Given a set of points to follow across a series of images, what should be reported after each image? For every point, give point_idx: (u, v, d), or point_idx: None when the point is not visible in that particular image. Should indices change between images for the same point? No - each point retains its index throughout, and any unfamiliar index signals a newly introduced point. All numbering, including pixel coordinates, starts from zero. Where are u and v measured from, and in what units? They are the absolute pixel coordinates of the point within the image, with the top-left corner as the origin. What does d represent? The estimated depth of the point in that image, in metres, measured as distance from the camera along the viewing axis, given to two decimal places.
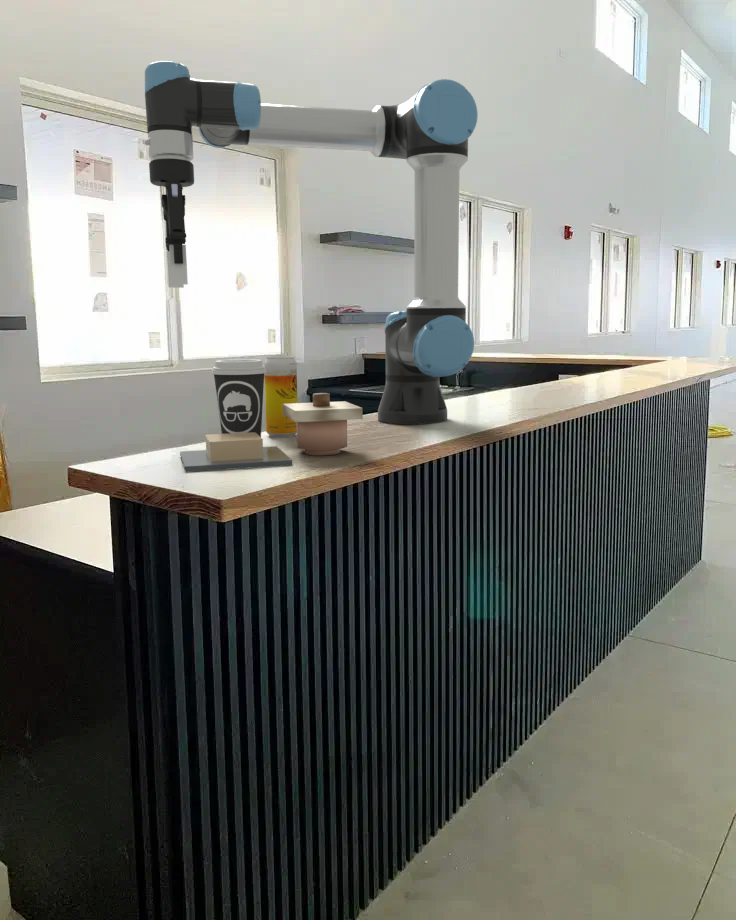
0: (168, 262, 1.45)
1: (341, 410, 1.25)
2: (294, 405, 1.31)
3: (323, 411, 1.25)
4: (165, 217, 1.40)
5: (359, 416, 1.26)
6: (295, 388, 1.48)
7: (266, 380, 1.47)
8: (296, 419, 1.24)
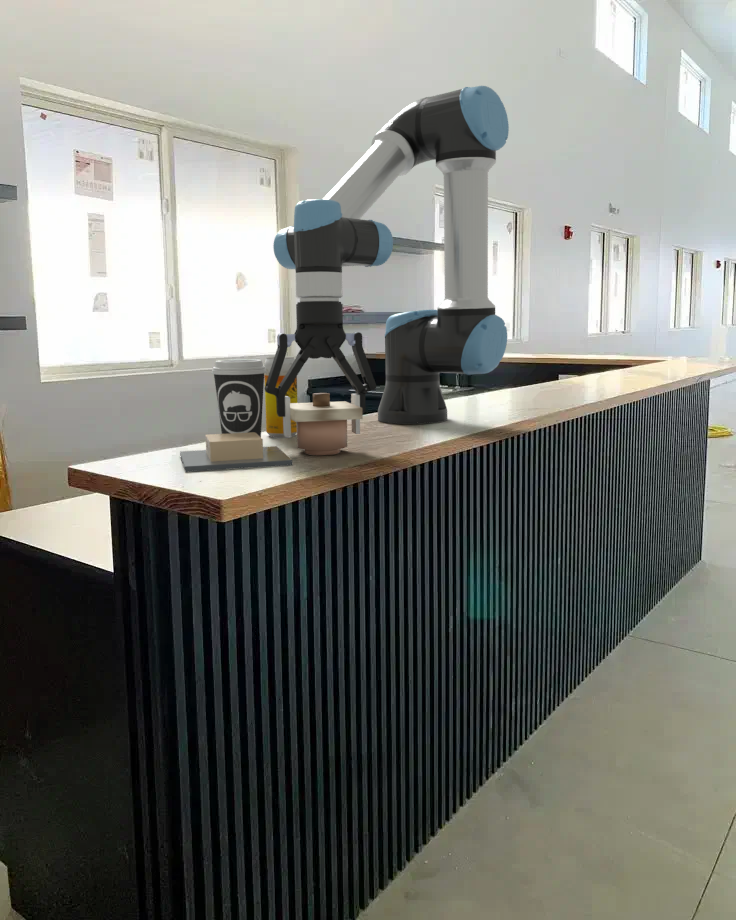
0: None
1: (341, 410, 1.25)
2: (294, 405, 1.31)
3: (323, 411, 1.25)
4: (333, 357, 1.31)
5: (359, 416, 1.26)
6: (295, 388, 1.48)
7: (266, 380, 1.47)
8: (296, 419, 1.24)
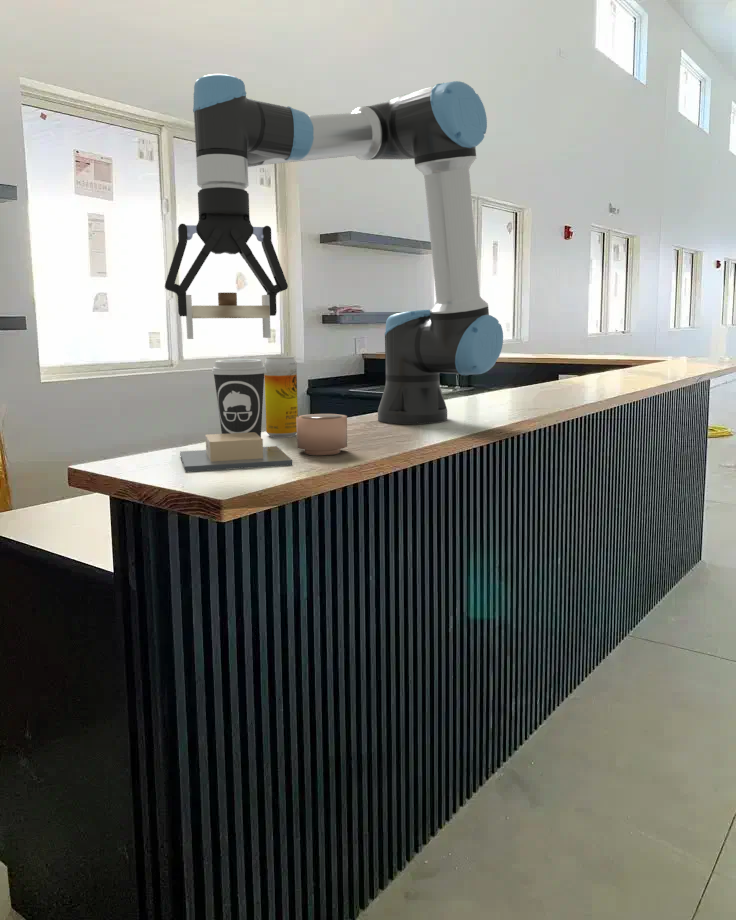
0: None
1: (245, 307, 1.16)
2: None
3: (225, 307, 1.15)
4: (240, 254, 1.21)
5: (265, 315, 1.17)
6: (295, 388, 1.48)
7: (266, 380, 1.47)
8: (195, 315, 1.14)
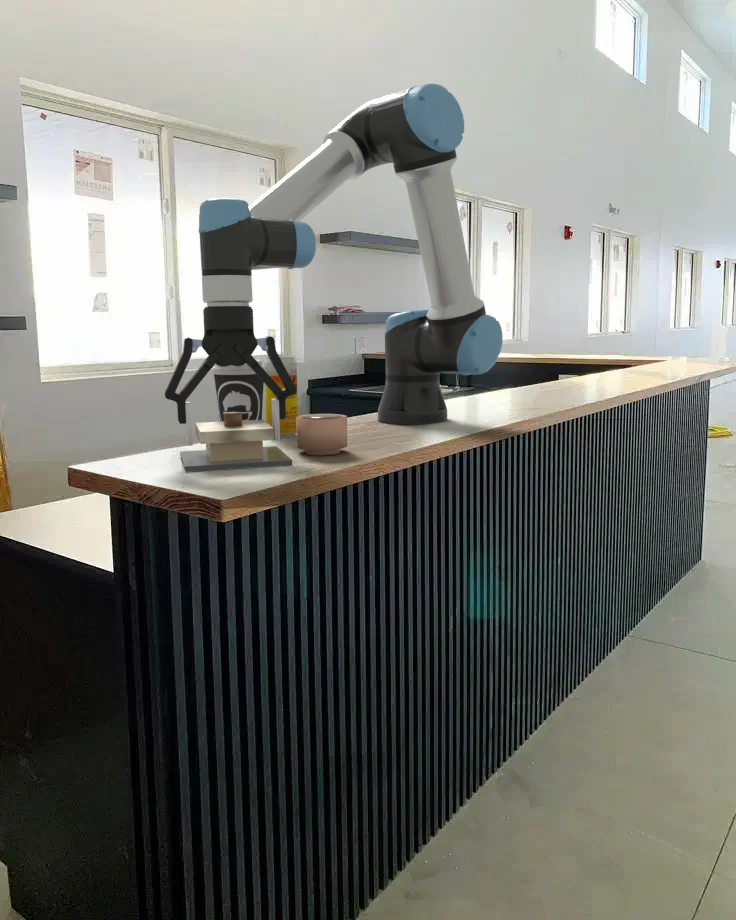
0: None
1: (251, 431, 1.19)
2: (205, 425, 1.24)
3: (231, 432, 1.18)
4: (247, 364, 1.24)
5: (270, 437, 1.20)
6: None
7: None
8: (202, 441, 1.17)
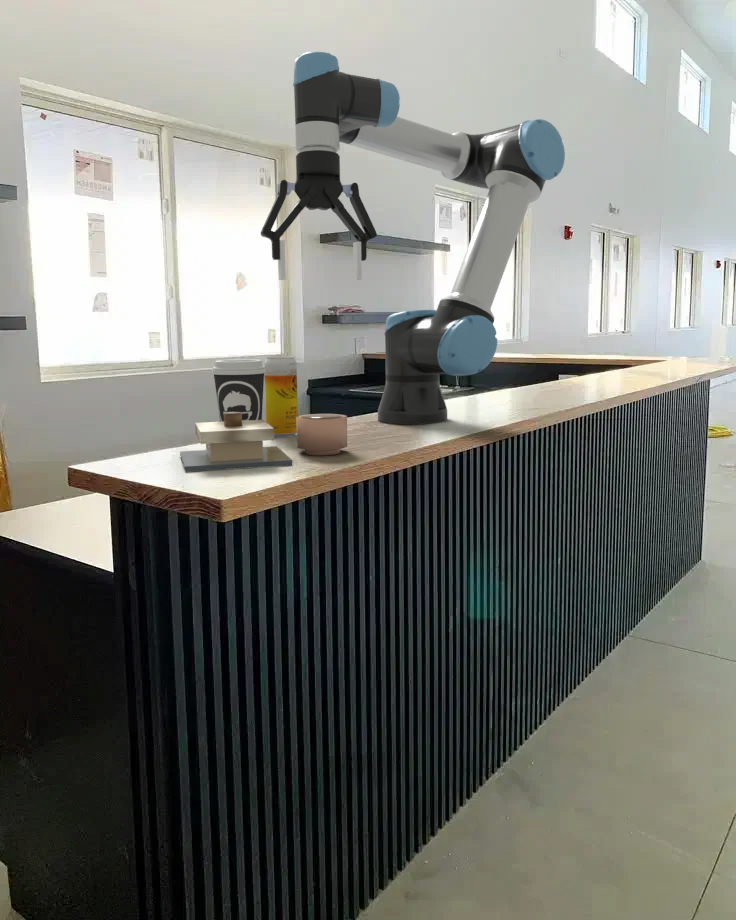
0: (353, 254, 1.40)
1: (251, 431, 1.19)
2: (205, 425, 1.24)
3: (231, 432, 1.18)
4: (332, 210, 1.38)
5: (270, 437, 1.20)
6: (295, 388, 1.48)
7: (266, 380, 1.47)
8: (202, 441, 1.17)
